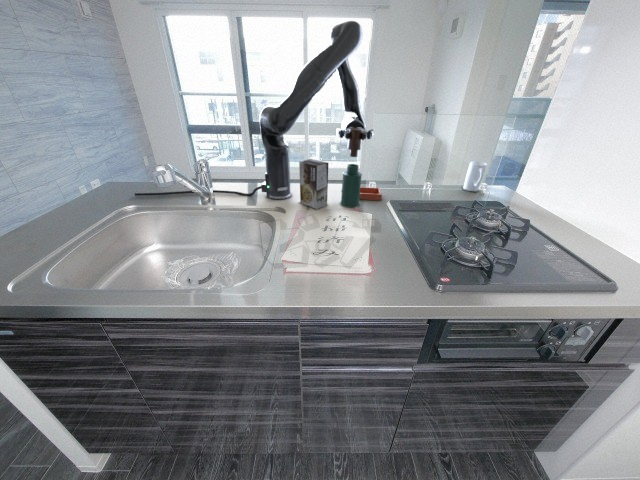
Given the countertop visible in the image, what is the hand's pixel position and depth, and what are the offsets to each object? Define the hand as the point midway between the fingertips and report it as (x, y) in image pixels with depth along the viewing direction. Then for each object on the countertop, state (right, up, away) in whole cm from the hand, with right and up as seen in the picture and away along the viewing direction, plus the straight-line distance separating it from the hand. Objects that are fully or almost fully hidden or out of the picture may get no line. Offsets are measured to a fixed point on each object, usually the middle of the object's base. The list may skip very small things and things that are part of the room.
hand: (355, 136), depth 89 cm
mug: (+58, -12, +33) cm, 67 cm away
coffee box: (-14, -21, +14) cm, 29 cm away
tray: (+9, -16, +23) cm, 29 cm away
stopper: (0, -5, +6) cm, 7 cm away
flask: (0, -21, +15) cm, 25 cm away
